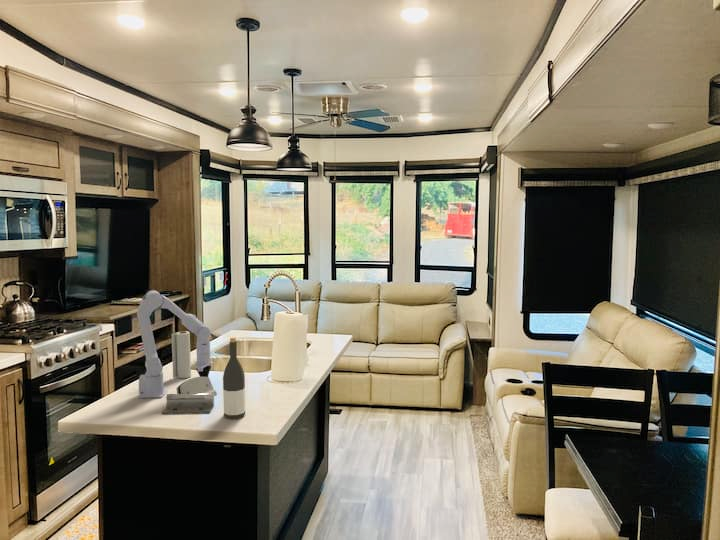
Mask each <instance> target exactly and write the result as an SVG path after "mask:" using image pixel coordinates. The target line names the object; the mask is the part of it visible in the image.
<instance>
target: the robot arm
mask: <svg viewBox="0 0 720 540" xmlns="http://www.w3.org/2000/svg"><path fill="white" fill-rule="evenodd" d="M159 307H160V309H167V310H168V311H170V312H171V313H173V314H174V315H175V316H177V318H179V319H180V320H181V325H182V326H184V327H185V328H187V330H189V332H190V333H192V334H194V335H195V336H196V343H195V345H196V347H195V348H196V366H197V367H196V370H195V371H196V372H197V373H198V375H199V376H198V377H208V378H209V375H210V371H211V368H212V365H214V362H213V361H211V341H210V340H211V339H210V338H211V336H212V332H211V330H210V328H209V327H208V326H207V325H206V324H205V322H203V321H201V320H199V319H198V318H197V315H195V314H192V313H186V312H185V311H184V310H182V309H181V308H180V306H178V305H177V304H176V303H174V302H173V301H172V300H171V299H169V298H168V297H166V296H165V295H163V294H160V292H159V291H157V290H155V289H153V290H149V291H147V292H146V294H144V295H143V297H142V299H141V301H140V303H139V306H138V309H137V310H136V316H137V321H138V326H139V330H140V336H141V341H142V344H143V350H144V354H145V362H144V363H145V364H144V366H145V368H146V371H145V372H144V374H140V375H139V378H138V398H139V399H140V398H141V399H143V398H144V399H145V398H146V399H147V398H148V399H150V398H162V397H164V395H166V393H167V390H164V372H163V364H162V362H161V359H160V358H159V357H158V352H157V347H156V342H155V337H154V333H153V328H152V324H151V323H152V322H151V319H150V316H151V315H152V313H153V312H154V311H155V310H156V309H158V308H159Z"/></svg>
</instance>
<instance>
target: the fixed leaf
mask: <svg viewBox="0 0 720 540" xmlns="http://www.w3.org/2000/svg"><path fill="white" fill-rule="evenodd" d="M165 401H166V407H165V408H164V409H163V410H162V412H161V413H162V415H170V414H169V413H173V414H172V415H181V414H180V413H192V414H211V412H212V411H213V408H214V407H215V396H214V393H212V394H177V393H172V394H171V393H167V394H166V400H165Z"/></svg>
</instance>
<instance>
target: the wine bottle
mask: <svg viewBox="0 0 720 540" xmlns="http://www.w3.org/2000/svg"><path fill="white" fill-rule="evenodd" d="M237 342H238V341H237V338H236V337H234V336H233V337H230V338H229V360H228V361H227V364H226V366H225V368H224V371H223V376H222V390H223V391H222V392H223V393H222V394H223V395H222V396H223V416H224V418H226V419H228V420H238V419H241V417H242V418H244V417H245V415H246V384H245V383H246V381H245V377H246V375H245V372H244V368H243V366H242V364H241V362H240V361H239V358H238V356H237V355H238V352H237V350H238V349H237Z"/></svg>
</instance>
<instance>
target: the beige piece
mask: <svg viewBox="0 0 720 540" xmlns="http://www.w3.org/2000/svg"><path fill="white" fill-rule="evenodd" d="M212 393H214V397H215V396H218V394H217V393H218V392H217V390H215V389H214V386H213V384H212V381H211V379H210V377H209V376H208V377H200V376H195V377H192V378H189V379H187V380H184V381H182V383H180V384H178V386H177V387H176V394H212Z"/></svg>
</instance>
